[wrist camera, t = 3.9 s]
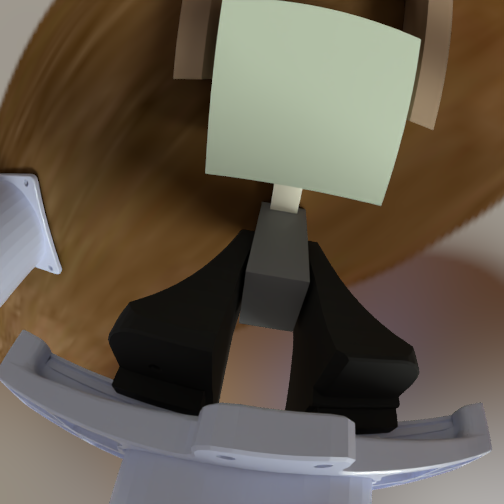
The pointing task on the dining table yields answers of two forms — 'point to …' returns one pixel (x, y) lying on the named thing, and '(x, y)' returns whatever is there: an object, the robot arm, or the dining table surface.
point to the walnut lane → (415, 23)
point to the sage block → (303, 127)
